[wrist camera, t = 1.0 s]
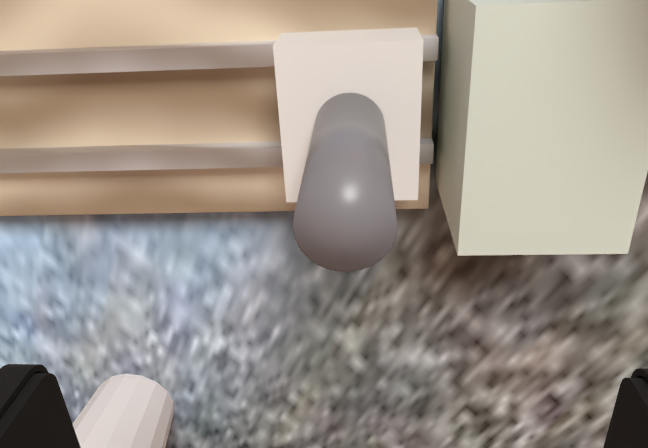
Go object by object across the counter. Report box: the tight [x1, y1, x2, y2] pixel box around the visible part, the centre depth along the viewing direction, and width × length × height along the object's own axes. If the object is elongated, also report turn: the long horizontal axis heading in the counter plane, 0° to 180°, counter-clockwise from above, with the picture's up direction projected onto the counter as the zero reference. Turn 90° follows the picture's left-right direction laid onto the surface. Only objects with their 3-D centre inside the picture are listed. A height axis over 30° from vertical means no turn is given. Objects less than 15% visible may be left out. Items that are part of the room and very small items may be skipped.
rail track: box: [0, 0, 439, 216], centre depth 29 cm, size 12×25×2 cm, turn 93°
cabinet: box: [435, 0, 648, 256], centre depth 25 cm, size 10×7×8 cm
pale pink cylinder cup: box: [73, 374, 174, 448], centre depth 37 cm, size 7×7×7 cm
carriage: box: [273, 27, 423, 272], centre depth 21 cm, size 7×6×12 cm
